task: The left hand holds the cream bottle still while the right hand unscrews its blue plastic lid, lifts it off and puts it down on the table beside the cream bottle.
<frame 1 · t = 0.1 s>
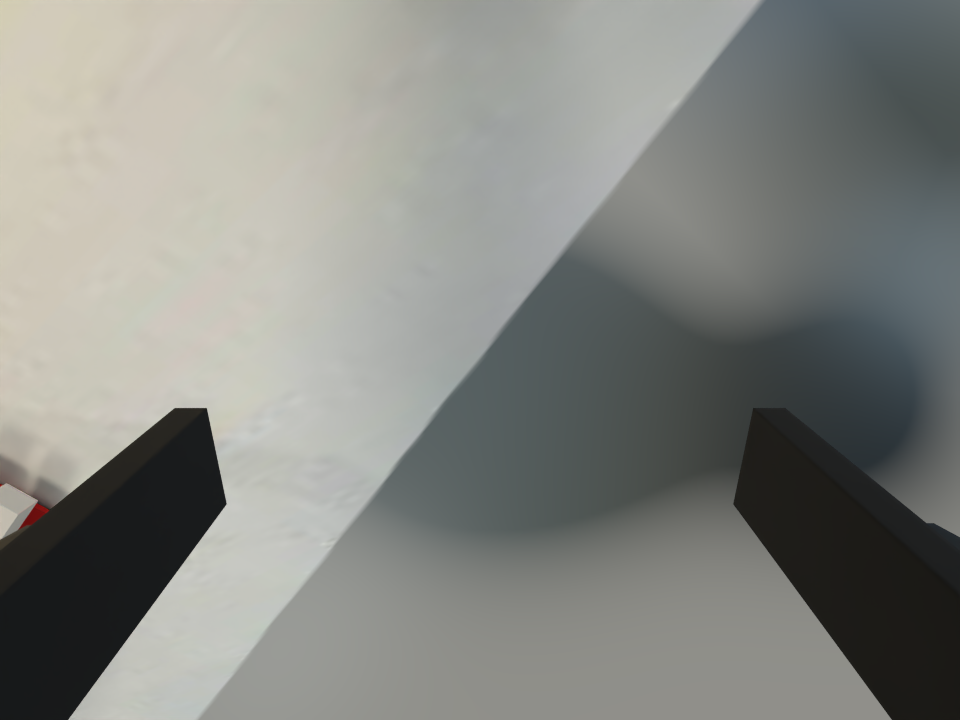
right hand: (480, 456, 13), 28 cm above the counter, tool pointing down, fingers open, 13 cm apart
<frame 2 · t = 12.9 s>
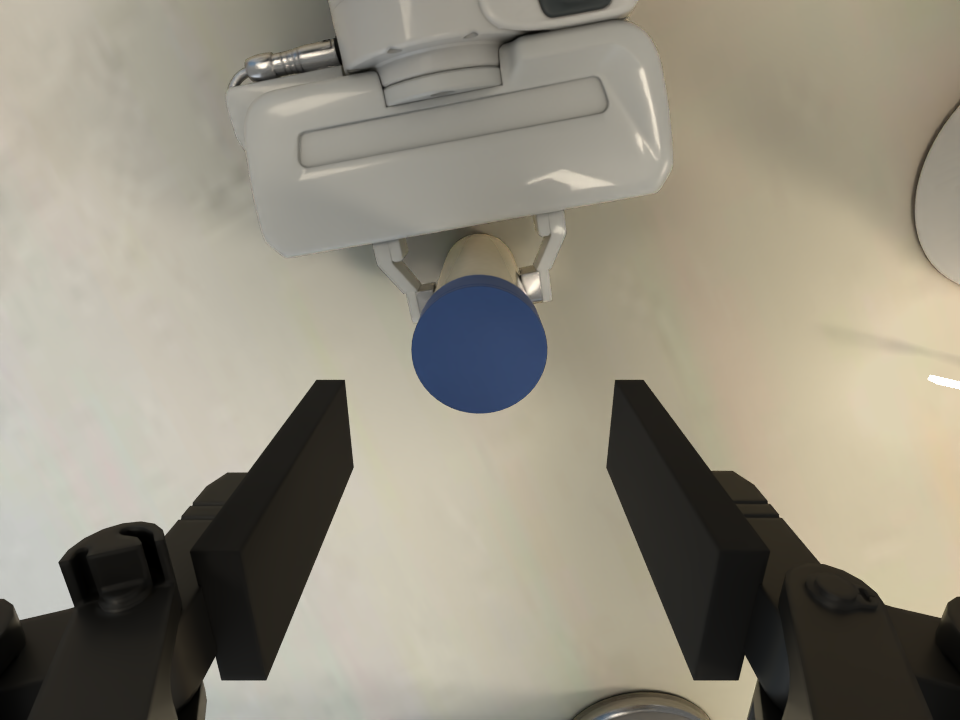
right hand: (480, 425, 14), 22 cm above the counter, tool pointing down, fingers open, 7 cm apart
left hand: (483, 309, 29), fingers closed on cream bottle, 5 cm apart
cream bottle: (479, 269, 35), on the counter, touching left hand
lid: (479, 349, 20), point 16 cm above the counter, screwed on, not yet turned
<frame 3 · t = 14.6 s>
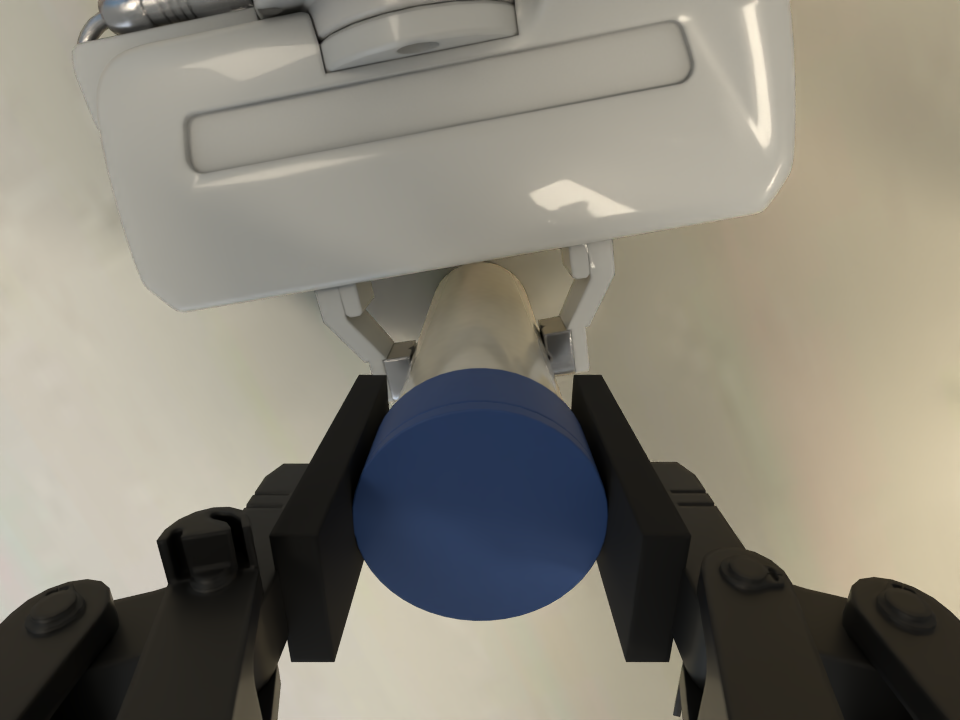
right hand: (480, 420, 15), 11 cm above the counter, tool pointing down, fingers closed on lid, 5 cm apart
left hand: (485, 382, 19), fingers closed on cream bottle, 5 cm apart
cream bottle: (480, 310, 25), on the counter, touching left hand
lid: (480, 513, 11), point 16 cm above the counter, screwed on, not yet turned, touching right hand
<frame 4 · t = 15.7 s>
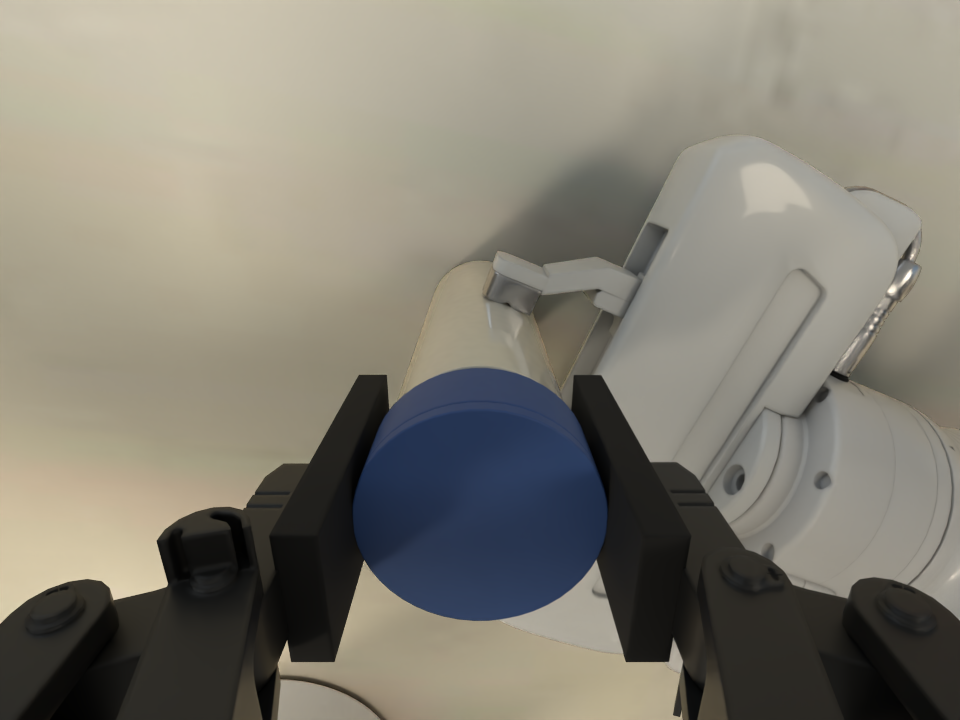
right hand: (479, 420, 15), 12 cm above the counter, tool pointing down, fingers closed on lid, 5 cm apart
left hand: (457, 349, 19), fingers closed on cream bottle, 5 cm apart
cream bottle: (480, 308, 26), on the counter, touching left hand
lid: (480, 513, 11), point 16 cm above the counter, off its thread, touching right hand
when the right hand's fingers open (0 cm above the counter, at t = 21.2 s): lid drops 1 cm, point 2 cm above the counter.
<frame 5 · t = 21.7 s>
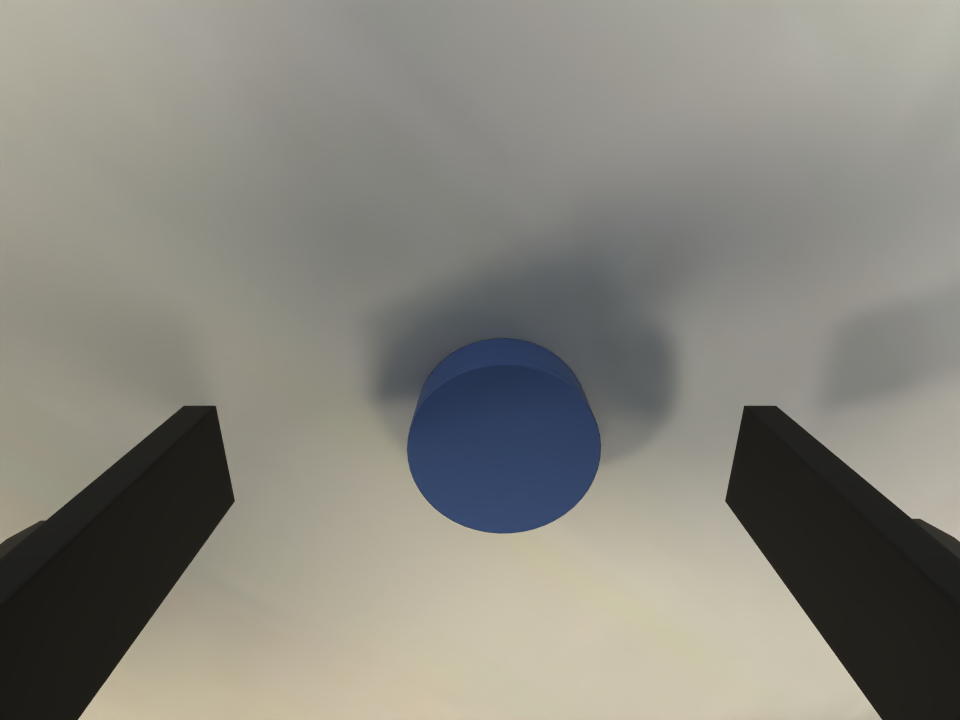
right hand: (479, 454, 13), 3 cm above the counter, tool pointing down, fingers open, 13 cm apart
lid: (503, 447, 14), point 2 cm above the counter, off its thread
when the left hand's fingers open (7 cm above the counter, at t = 22.1 s): cream bottle stays where it is, on the counter.
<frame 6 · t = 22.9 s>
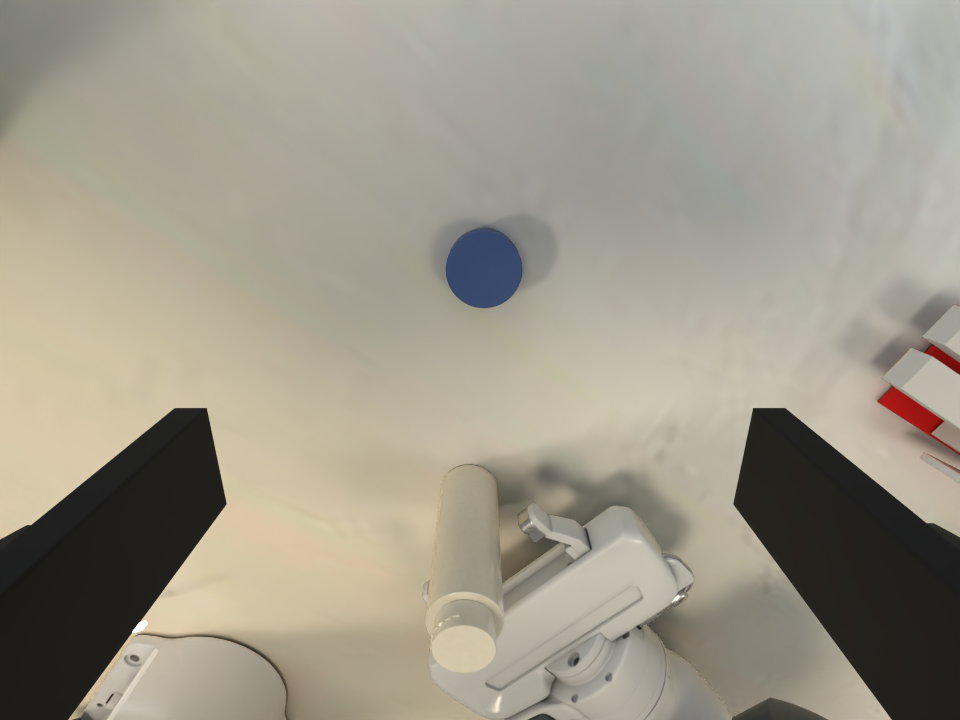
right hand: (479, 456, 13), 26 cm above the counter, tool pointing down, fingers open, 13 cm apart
left hand: (476, 550, 38), fingers open, 8 cm apart
cream bottle: (469, 488, 44), on the counter
lid: (484, 270, 36), point 2 cm above the counter, off its thread
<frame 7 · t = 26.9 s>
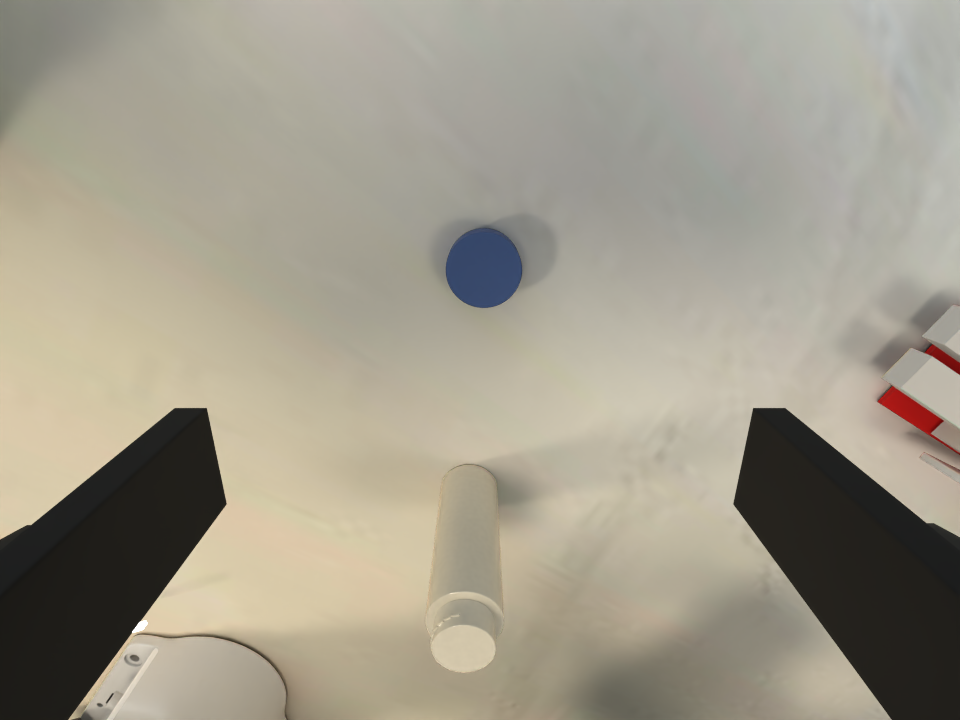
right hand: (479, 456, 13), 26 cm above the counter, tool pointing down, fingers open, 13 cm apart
cream bottle: (469, 488, 44), on the counter
lid: (483, 269, 36), point 2 cm above the counter, off its thread
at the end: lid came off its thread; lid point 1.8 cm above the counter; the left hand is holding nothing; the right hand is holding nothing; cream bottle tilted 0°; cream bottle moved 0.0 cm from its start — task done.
